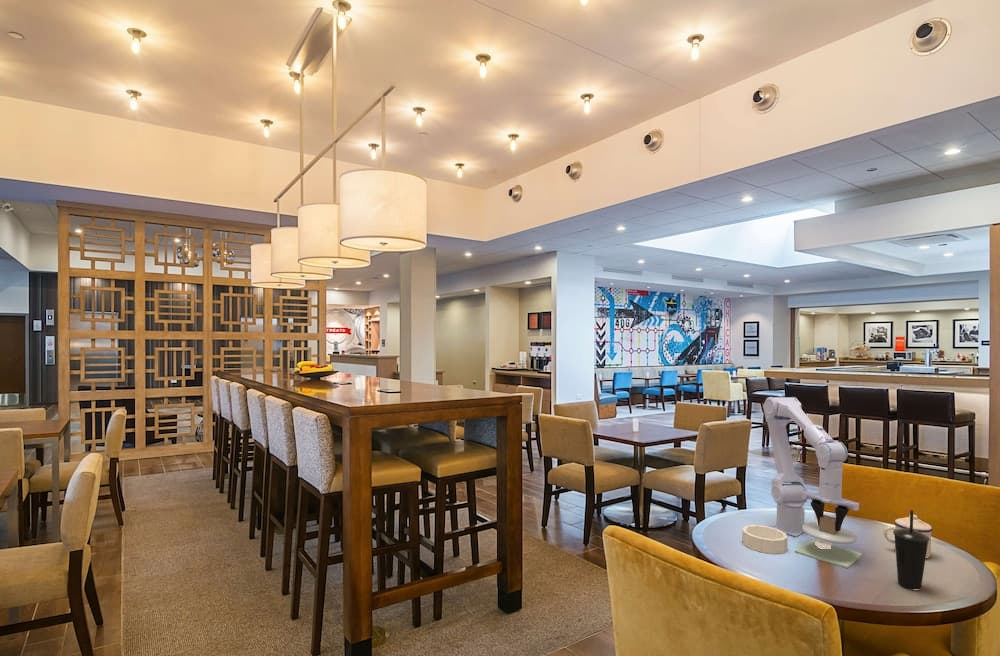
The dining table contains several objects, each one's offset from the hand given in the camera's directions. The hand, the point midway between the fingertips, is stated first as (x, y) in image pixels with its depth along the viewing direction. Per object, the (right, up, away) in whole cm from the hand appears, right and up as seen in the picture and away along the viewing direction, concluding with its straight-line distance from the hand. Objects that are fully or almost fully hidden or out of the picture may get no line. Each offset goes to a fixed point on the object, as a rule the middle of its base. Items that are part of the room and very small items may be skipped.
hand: (829, 528), depth 163 cm
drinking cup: (+9, -8, -20) cm, 23 cm away
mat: (0, -8, 0) cm, 8 cm away
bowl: (-17, -7, +5) cm, 19 cm away
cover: (0, -2, 0) cm, 2 cm away
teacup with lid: (+25, -9, +2) cm, 26 cm away
